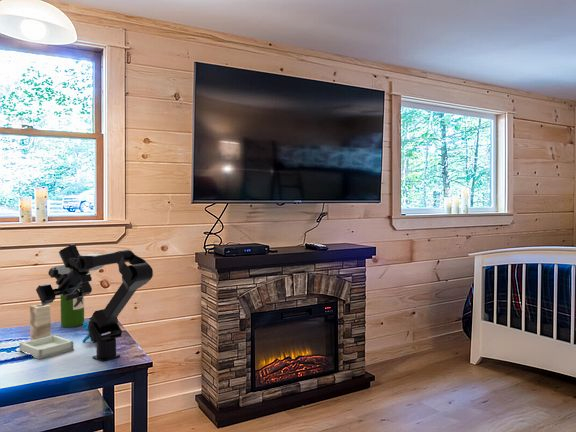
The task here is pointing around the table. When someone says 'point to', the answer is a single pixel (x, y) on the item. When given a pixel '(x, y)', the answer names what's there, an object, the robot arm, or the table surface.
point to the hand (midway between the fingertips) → (54, 302)
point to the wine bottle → (72, 311)
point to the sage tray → (46, 346)
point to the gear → (85, 324)
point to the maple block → (40, 321)
